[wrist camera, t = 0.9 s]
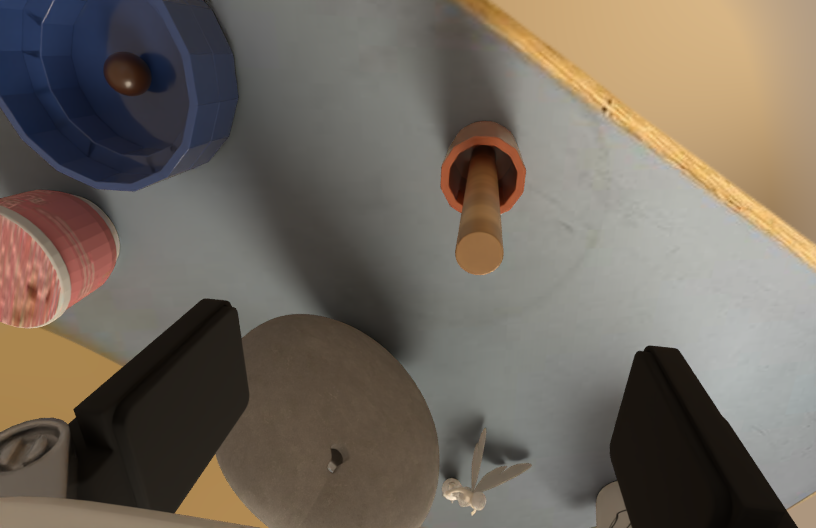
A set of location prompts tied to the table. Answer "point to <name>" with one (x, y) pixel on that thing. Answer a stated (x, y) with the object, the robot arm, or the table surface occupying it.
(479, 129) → the holder
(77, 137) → the bowl
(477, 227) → the stick
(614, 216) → the table surface
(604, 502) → the mug
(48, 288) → the container
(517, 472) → the fairy figurine
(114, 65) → the bead
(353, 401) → the grey-brown thick disc
